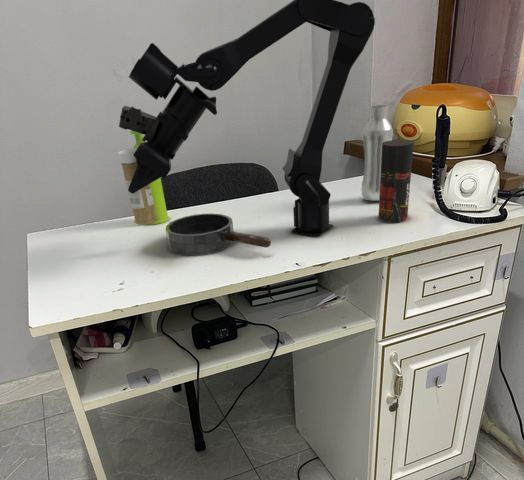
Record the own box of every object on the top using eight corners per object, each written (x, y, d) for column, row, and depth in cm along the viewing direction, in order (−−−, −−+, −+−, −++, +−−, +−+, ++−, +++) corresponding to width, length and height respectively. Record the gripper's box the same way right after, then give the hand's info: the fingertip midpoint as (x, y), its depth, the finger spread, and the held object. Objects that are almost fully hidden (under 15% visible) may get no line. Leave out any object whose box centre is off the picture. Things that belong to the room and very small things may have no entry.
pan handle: (274, 245, 90) (273, 236, 89) (267, 249, 89) (266, 240, 88) (226, 237, 96) (225, 228, 95) (219, 240, 95) (218, 232, 94)
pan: (232, 228, 106) (230, 210, 103) (236, 250, 94) (234, 230, 92) (170, 235, 105) (167, 217, 103) (167, 259, 94) (163, 239, 91)
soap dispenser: (174, 215, 117) (158, 125, 106) (160, 225, 112) (142, 131, 101) (153, 214, 119) (135, 126, 108) (138, 224, 114) (118, 131, 103)
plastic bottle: (392, 202, 112) (398, 106, 101) (363, 204, 112) (366, 109, 102) (386, 195, 118) (392, 103, 107) (358, 197, 118) (361, 105, 107)
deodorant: (379, 213, 106) (383, 140, 98) (407, 214, 105) (414, 139, 97) (377, 222, 101) (381, 146, 93) (406, 223, 100) (413, 145, 92)
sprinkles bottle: (162, 220, 96) (147, 148, 88) (142, 227, 93) (125, 153, 86) (149, 216, 99) (134, 146, 91) (130, 223, 96) (113, 151, 89)
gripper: (144, 82, 91) (101, 151, 97) (133, 90, 76) (83, 172, 81) (193, 123, 96) (149, 187, 101) (192, 138, 80) (140, 213, 86)
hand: (131, 188), depth 92 cm, fingers closed on sprinkles bottle, 4 cm apart
